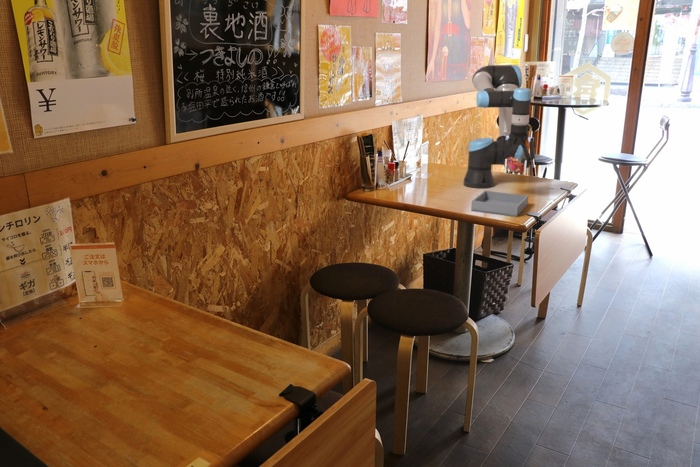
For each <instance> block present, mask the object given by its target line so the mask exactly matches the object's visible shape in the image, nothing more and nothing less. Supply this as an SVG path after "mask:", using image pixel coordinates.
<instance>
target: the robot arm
mask: <svg viewBox="0 0 700 467" xmlns="http://www.w3.org/2000/svg"><path fill="white" fill-rule="evenodd" d="M522 78H523V75H522V71H521V68H520V66H518V65H516V64H515V65H514V64H513V65H512V64H509V65H502V64H501V65H499V64H498V65H496V64H495V65H493V64H492V65H485V66H482V67H480V68H479V69H478V70H476V71H475V72H474V74H473V75H472V80H471V81H472V85H473V87H474V88H475V89H476V90H477V93H476V98H475V99H476V100H475V101H476V106H477V108H483V109H486V108H490V109H492V108H498V137H496V140H494V139H493V138H492V137H482V138H475V139H472V140H471V141H470V142H469V145H468V158H467V160H468V162H467V163H468V164H467V170H466V173H465V176H464V178H463V181H462V182H463V183H462V184H463V185H464V187H468V188H474V189H488V188H492V187H493V186H495V179H494V176H493V171H492V165H494V166H495V165H496V166H504V172H503V173H504V174H508V172H509V169H508V168H507V163H508V162H509V160H508V157H510V156H511V157H513V158H514V159H515V158H518V159H519V161H520V162H522V160H523V157H524V156H525V160H524V164H525V165H524V167H523V168H524V170H523V176H526V175H527V172H528V168H530V165H531V161H533V160H534V159H536V155H535V146H534V141H535V139H536V138H535V137H534V136H532V137H531V136H529V133H528V132H529V123H530V112H531V111H530V110H531V102H532V100H531V99H532V97H533V96H532V89H530V88H526V87H522V84H523V82H522V81H523V80H522ZM527 140H528V142H529V150H528V147H527V142H526V141H527ZM529 152H530V153H529ZM506 161H507V162H506Z"/></svg>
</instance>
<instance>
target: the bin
mask: <svg viewBox="0 0 700 467" xmlns="http://www.w3.org/2000/svg"><path fill="white" fill-rule="evenodd" d="M470 206H471V207H470V208H471V209H470V210H471V212H477V213H485V214H491V215H498V216H499V215H500V216H505V217H506V216H507V217H512V218H513V217H514V218H518V217H519V215H520V214H522V212H523V211H524V210H525V209H526V208H527V207H528V206H529V195H526V194H524V195H523V194H517V193H507V192H500V191H490V190H484V191H483V192H482V193H481V192H480V194H479V195H477V196H476V197H474V198H473V199H472V200H471V205H470Z"/></svg>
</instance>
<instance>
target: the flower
mask: <svg viewBox="0 0 700 467" xmlns="http://www.w3.org/2000/svg"><path fill="white" fill-rule="evenodd" d="M508 160H509V162H508V163H507V168H508V171H507V174H508V175H510V174H511V173H513V174H514V175H518V176H520V174H521V173H524V165H525V163H524V162H522V161H521V162H520V161H519V159H518V158H515V159H514V158H513V157H511V156H510V157H508ZM506 162H507V161H506Z"/></svg>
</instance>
